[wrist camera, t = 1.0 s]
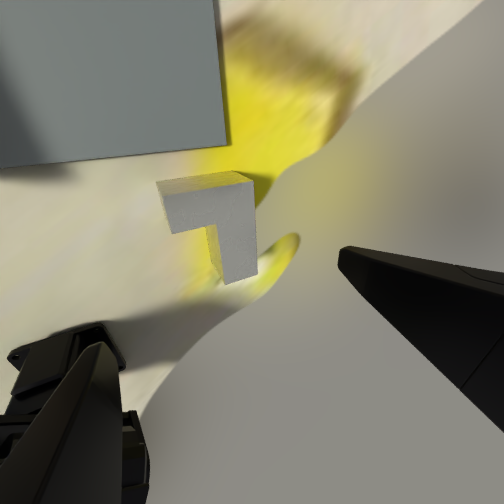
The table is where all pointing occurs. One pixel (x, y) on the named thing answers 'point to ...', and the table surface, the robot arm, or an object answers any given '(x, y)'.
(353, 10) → the table surface
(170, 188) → the bracket
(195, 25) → the arena board
